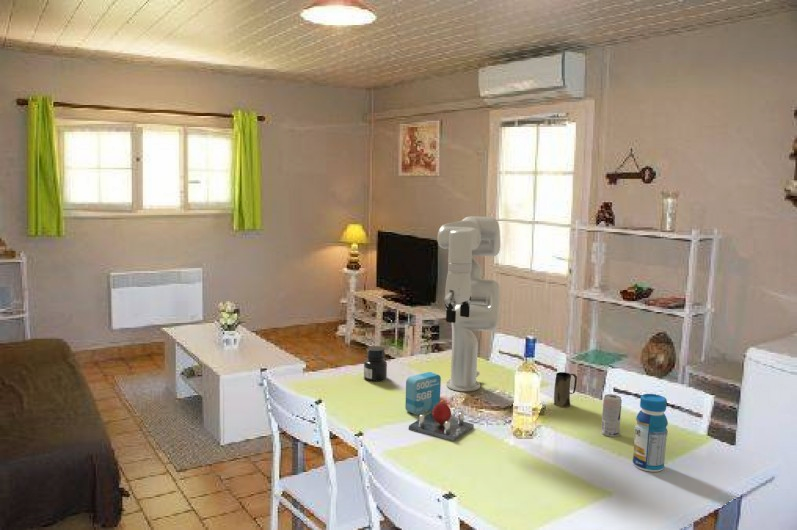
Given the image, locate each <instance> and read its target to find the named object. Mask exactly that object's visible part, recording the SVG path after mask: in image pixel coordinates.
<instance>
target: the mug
mask: <svg viewBox="0 0 797 530" xmlns="http://www.w3.org/2000/svg"><path fill="white" fill-rule="evenodd" d="M555 374H556V376H555V381H554V391H553V405H554V406H555V407H558V408H562V409H563V408H565V409H566V408H570V407H571V397H570V396H571V395H573V394H575V393H576V389H577V383H578V377H577V375H576V374H575V373H570V372H565V371H564V372H562V371H560V372H557V373H555ZM572 376H573V377H574V383H573V384H574V385H573V391H572V392H571V379H572Z"/></svg>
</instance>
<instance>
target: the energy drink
mask: <svg viewBox="0 0 797 530" xmlns="http://www.w3.org/2000/svg"><path fill="white" fill-rule="evenodd" d="M622 401H623V400H622V396H619V395H616V394H612V393H610V394H605V395H604V397H603V401H602V416H601V428H600V431H601V434H602V435H603V436H606V437H610V438H616V437H618V436H619V435H620V428H621V426H620V425H621V415H622V413H621V412H622Z"/></svg>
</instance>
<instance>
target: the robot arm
mask: <svg viewBox="0 0 797 530" xmlns="http://www.w3.org/2000/svg"><path fill="white" fill-rule="evenodd" d="M437 244H438V246H439V247H440V248H441V249H445V250H448V257H447V258H448V259H447V263H448V264H447V274H446V279H445V280H446V281H445V289H444V290H445V291H444V298H443V301H444V306H445V311H446V312H445V315H446V317H445V322H446V323H451V334H452V336H451V339H452V341H451V360H450V361H451V363H450V364H451V365H450V367H451V369H450V379H449V380H447V381H446V387H447V388H449V389H450V390H453V391H457V392H475V391H477V390H479V389H480V388H481V383H480V382H479V381H477V377H479V376H480V371H478V351H479V350H478V349H479V348H478V346H479V343H478V339H477V336H476V335H475V334H474V333H473V331H482V332H493V331H495V330H496V329H497V328H498V325H499V318H500V317H499V316H500V302H501V299H500V298H501V287H500V284H499V283H498V281H496V280H494V279H485V278H482V275H483V270H482V266H480V264H479V262H478V261H477V260H476V259H475V258H474V257H473V256H476V257H477V256H478V257H496V256H497V255H498V254H499V253H500V251H501V230H500V224H499V221H498V220H497V219H496V218H495V217H493V216H477V215H475V216H474V215H472V216H471V215H470V216H466V217H464V218H463V219H462V220H460V221H455V222H454V221H453V222H448V223H445V224H444V223H443V224H442V225H441V226H440V227H439V230H438V232H437Z"/></svg>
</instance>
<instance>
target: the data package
mask: <svg viewBox="0 0 797 530" xmlns="http://www.w3.org/2000/svg"><path fill="white" fill-rule="evenodd" d="M441 380H442V379H441V375H440V374H437V373H434V372H431V371H428V372H427V371H426V372H424V373H418V374H415V375H410V376H408V377H407V379H406V381H405V404H404V405H405V406H404V407H405V411H407V412H409V413H410V414H413V415H421V414H424V413H428V412H430V411H433V408H434V406H436V405H437V404H438V403H440V401H441V386H442V385H441V384H442V383H441Z"/></svg>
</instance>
